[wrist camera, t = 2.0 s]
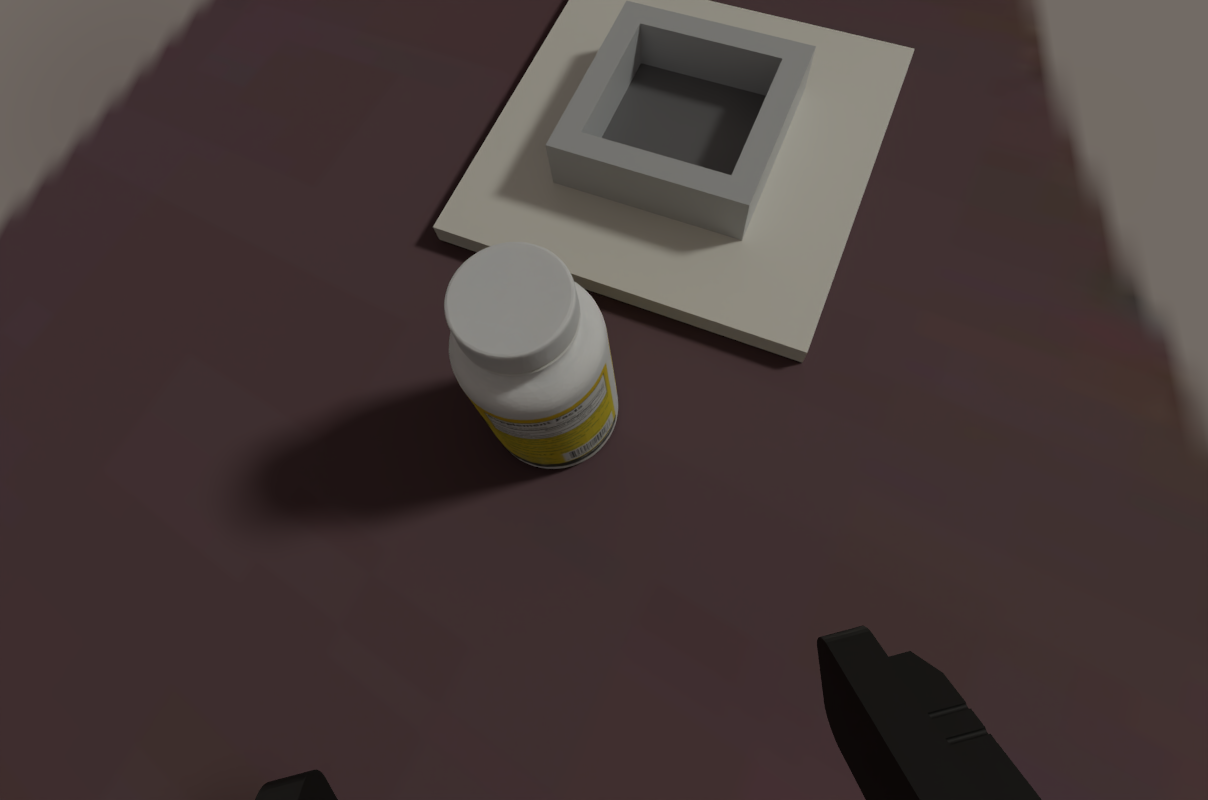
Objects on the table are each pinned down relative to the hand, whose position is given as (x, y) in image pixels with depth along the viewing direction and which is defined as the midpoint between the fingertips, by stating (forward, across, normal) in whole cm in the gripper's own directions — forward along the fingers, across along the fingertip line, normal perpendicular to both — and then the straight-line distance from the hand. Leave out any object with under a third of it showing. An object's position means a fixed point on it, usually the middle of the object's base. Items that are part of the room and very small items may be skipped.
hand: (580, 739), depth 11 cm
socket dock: (+27, -9, -6) cm, 29 cm away
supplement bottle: (+19, 0, +3) cm, 19 cm away
